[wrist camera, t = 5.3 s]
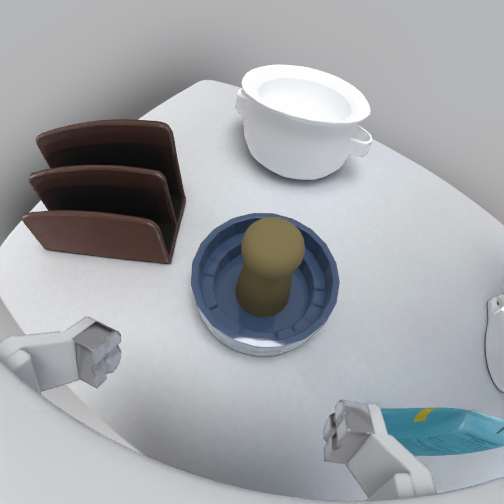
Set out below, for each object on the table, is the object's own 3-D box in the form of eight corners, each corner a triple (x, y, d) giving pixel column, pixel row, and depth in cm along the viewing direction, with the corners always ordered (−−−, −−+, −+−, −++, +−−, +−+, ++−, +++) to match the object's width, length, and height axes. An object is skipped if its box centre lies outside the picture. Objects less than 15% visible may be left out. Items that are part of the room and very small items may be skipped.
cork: (225, 279, 32) (223, 220, 22) (273, 259, 33) (288, 196, 24) (250, 326, 29) (259, 284, 20) (299, 302, 31) (328, 252, 21)
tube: (400, 417, 24) (540, 394, 8) (385, 455, 22) (523, 468, 6) (346, 400, 26) (480, 373, 9) (329, 441, 23) (455, 468, 7)
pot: (205, 156, 42) (201, 88, 32) (259, 109, 50) (264, 54, 40) (338, 217, 38) (369, 149, 27) (366, 153, 46) (389, 98, 35)
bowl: (294, 226, 37) (301, 201, 32) (344, 328, 30) (362, 314, 26) (183, 256, 33) (177, 232, 29) (220, 374, 27) (217, 369, 22)
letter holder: (70, 196, 37) (34, 127, 25) (187, 200, 38) (173, 112, 26) (45, 251, 32) (-8, 185, 20) (171, 265, 33) (140, 180, 21)
